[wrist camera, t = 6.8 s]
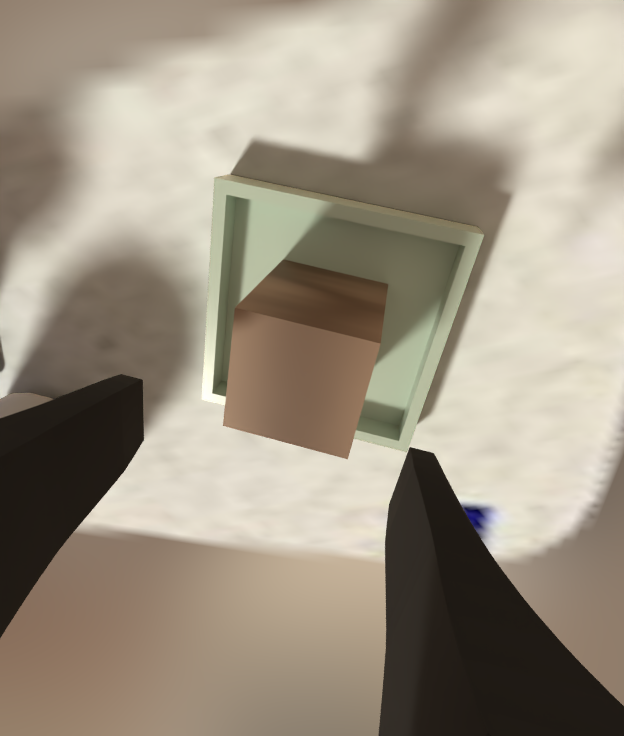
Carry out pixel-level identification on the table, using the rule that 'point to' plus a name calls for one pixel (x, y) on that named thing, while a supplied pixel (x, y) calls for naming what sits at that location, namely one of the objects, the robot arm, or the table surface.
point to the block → (304, 356)
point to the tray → (349, 256)
